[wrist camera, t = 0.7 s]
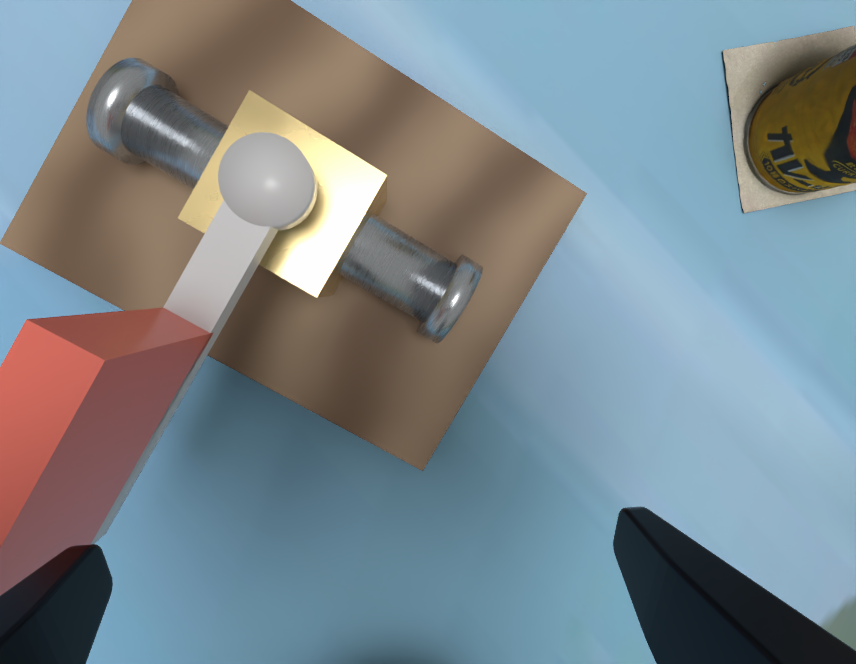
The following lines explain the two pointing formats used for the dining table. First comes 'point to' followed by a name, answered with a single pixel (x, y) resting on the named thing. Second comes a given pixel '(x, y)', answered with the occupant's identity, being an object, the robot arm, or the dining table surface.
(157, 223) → the mounting board
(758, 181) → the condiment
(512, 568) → the dining table surface
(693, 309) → the dining table surface
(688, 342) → the dining table surface
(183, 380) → the valve lever
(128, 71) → the ball valve
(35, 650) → the robot arm
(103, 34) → the dining table surface
